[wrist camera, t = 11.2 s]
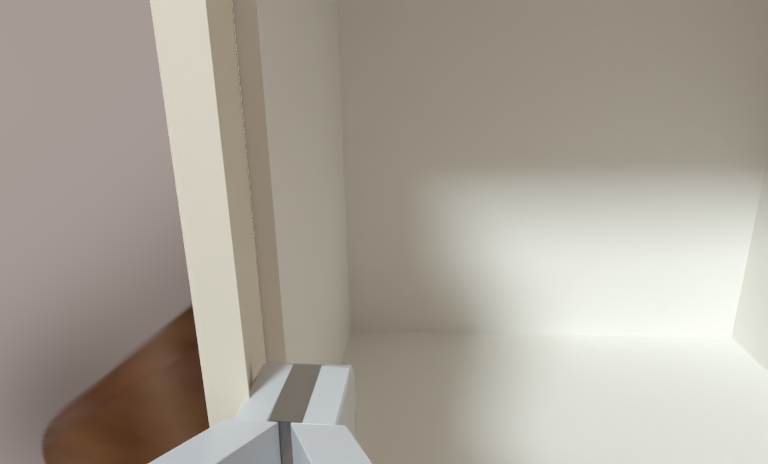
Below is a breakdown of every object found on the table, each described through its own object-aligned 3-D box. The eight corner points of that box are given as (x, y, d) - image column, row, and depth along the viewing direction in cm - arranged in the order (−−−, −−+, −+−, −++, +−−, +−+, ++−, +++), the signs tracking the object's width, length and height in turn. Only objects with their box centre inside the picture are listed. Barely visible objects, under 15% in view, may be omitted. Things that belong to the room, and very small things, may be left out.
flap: (298, 845, 11) (269, 854, 11) (282, 532, 19) (265, 536, 19) (160, -411, 5) (90, -421, 5) (218, -140, 13) (191, -140, 12)
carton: (735, 341, 31) (971, 566, 17) (341, 333, 32) (283, 533, 19) (818, -61, 24) (1290, -192, 11) (324, -46, 26) (218, -143, 13)
